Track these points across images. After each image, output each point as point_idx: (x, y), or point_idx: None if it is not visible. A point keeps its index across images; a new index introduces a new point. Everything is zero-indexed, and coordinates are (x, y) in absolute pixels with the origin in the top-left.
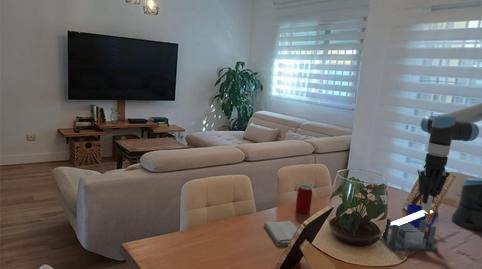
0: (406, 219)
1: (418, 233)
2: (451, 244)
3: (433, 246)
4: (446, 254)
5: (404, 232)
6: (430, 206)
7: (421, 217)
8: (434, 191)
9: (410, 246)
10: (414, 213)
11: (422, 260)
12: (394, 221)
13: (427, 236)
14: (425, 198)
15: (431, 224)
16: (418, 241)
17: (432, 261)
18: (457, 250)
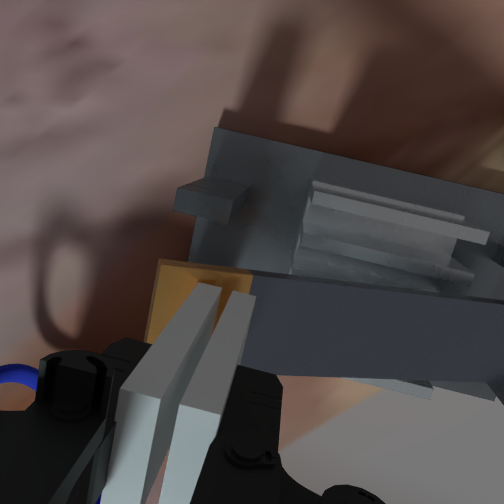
0: (428, 340)
1: (368, 203)
2: (39, 169)
3: (231, 151)
4: (204, 66)
5: (450, 265)
6: (192, 312)
7: (315, 279)
8: (38, 482)
9: (409, 192)
10: (307, 375)
11: (466, 38)
12: (496, 380)
13: (240, 206)
14: (268, 426)
15: (3, 368)
16: (350, 189)
17: (403, 9)
18: (70, 92)
